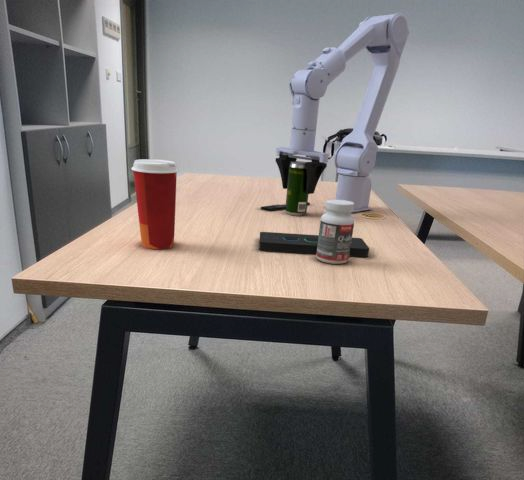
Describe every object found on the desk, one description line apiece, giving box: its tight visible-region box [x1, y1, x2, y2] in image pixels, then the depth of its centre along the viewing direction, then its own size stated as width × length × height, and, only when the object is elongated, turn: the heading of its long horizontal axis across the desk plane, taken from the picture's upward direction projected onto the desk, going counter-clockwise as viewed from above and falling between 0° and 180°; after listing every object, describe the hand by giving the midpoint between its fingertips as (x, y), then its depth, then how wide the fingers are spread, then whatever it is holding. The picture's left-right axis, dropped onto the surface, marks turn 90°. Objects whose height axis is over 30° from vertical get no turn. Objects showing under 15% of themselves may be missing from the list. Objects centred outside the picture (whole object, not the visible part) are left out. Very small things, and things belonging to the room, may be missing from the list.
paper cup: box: [131, 158, 179, 250], centre depth 81 cm, size 8×8×14 cm
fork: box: [260, 202, 310, 212], centre depth 124 cm, size 17×3×1 cm, turn 136°
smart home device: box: [258, 231, 370, 258], centre depth 89 cm, size 8×2×20 cm
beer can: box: [284, 160, 309, 217], centre depth 115 cm, size 5×5×12 cm
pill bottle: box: [315, 199, 355, 265], centre depth 81 cm, size 6×6×10 cm
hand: (298, 190), depth 115 cm, fingers open, 7 cm apart
